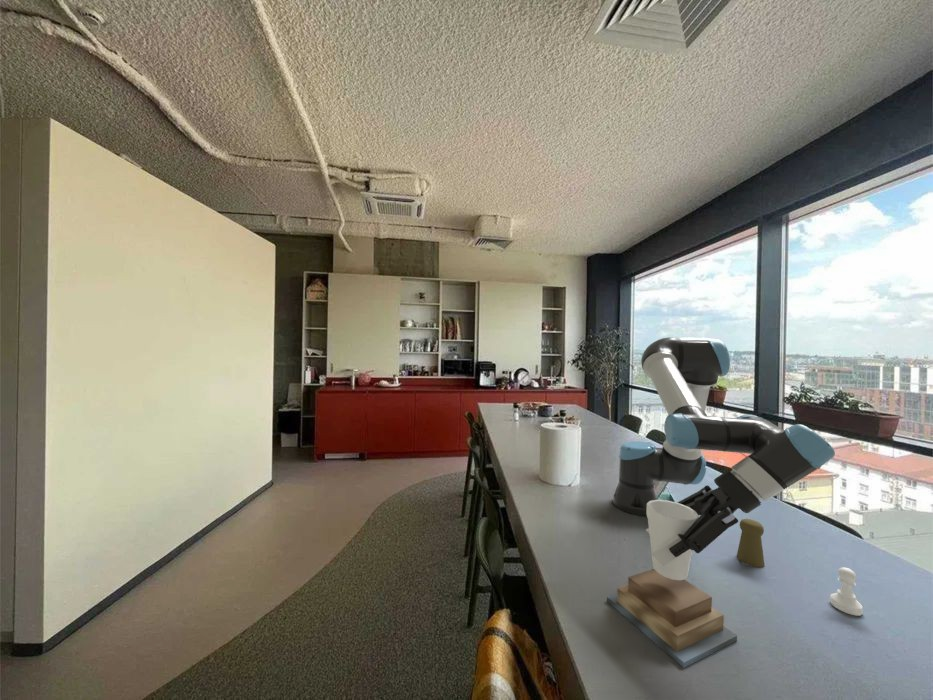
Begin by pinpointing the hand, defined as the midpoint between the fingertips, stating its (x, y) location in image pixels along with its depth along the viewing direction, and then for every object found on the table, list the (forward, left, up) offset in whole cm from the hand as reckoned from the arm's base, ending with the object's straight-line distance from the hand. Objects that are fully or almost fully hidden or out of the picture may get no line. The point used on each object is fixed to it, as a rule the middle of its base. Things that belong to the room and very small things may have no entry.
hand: (653, 546), depth 75 cm
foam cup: (+2, +2, -5) cm, 5 cm away
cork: (-4, +44, -15) cm, 47 cm away
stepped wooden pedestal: (+2, +2, -15) cm, 15 cm away
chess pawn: (+15, +44, -15) cm, 49 cm away
